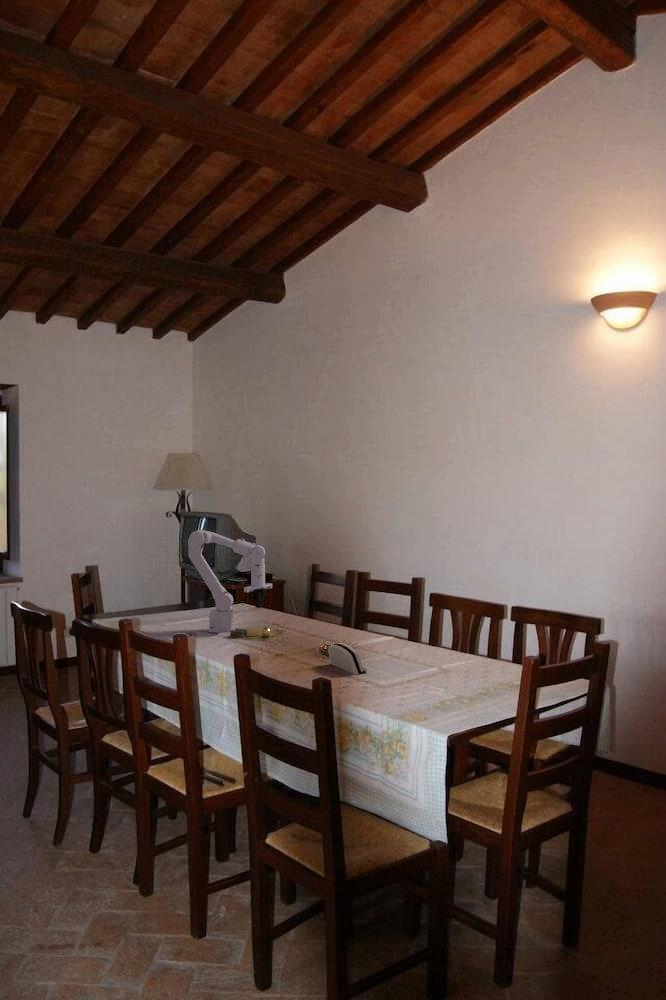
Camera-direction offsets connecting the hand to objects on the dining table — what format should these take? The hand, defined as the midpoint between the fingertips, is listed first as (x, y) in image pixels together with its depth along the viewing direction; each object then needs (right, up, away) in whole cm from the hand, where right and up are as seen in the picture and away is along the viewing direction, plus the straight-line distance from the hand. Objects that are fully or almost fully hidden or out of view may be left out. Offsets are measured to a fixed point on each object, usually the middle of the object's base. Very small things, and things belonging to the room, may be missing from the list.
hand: (258, 607), depth 346 cm
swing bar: (-1, -9, -14) cm, 17 cm away
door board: (0, -11, -9) cm, 14 cm away
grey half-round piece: (+35, -14, -57) cm, 69 cm away
